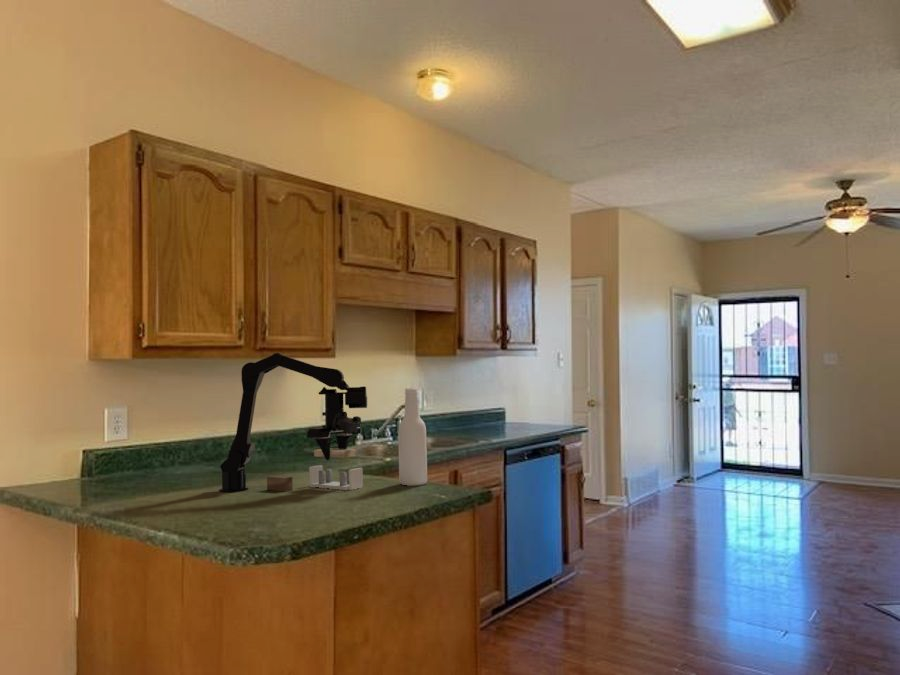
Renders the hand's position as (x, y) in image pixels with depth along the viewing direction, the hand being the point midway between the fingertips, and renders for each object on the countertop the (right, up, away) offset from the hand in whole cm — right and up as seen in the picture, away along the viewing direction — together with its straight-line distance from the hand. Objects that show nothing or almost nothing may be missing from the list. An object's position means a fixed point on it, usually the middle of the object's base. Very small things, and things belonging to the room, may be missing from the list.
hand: (334, 458), depth 216 cm
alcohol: (+24, -8, +1) cm, 26 cm away
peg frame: (0, -9, -1) cm, 9 cm away
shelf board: (0, +1, 0) cm, 1 cm away
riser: (-16, -9, -4) cm, 19 cm away
